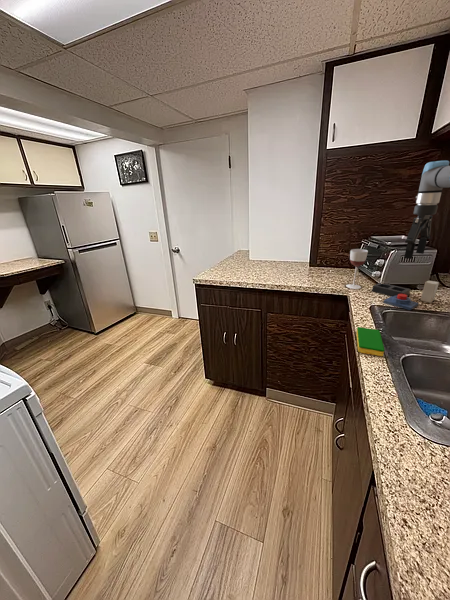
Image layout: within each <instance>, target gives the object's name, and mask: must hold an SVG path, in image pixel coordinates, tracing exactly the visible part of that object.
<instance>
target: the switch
mask: <svg viewBox="0 0 450 600" xmlns="http://www.w3.org/2000/svg"><path fill="white" fill-rule="evenodd" d="M407 297H408V296H407V295H405V294H398V296H397V298H398V299H401V300H406V299H407Z"/></svg>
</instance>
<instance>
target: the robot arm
mask: <svg viewBox="0 0 450 600" xmlns="http://www.w3.org/2000/svg"><path fill="white" fill-rule="evenodd" d="M419 182H420V183H419V187H418V192H417V195H416V196H415V199H416V200H415V204H416V205H415V206H414V209H413V212H412V213H413V215H415V216H417V217H414V218H413V220H412V224H411V226H410V229H409V231H408V234H407V237H406V239H405V240H404V243H405V244H406V248H405V252H404V257H403V259H407V260H408V259H409V260H412V259H413V257H414V252H415V254H422V255H423V254H425V250H426V246H427V243H428V240H430V239H431V230H432V222H433V221H432V220H433V218H434V217H433V216H434V215H436V214H437V211H438V208H439V205H438V204H439V203H440V201H441V196H442V192H443V189H445V188H447V189H449V188H450V161H449V160H436V161H429V162H427V163H426V164H425V165H424V167H423V170H422V173H421V178H420V181H419ZM419 235H420V238H419V239H418V237H419ZM417 239H418V243H416V241H417ZM416 244H417V247H416ZM415 248H416V251H415Z"/></svg>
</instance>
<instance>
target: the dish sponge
mask: <svg viewBox="0 0 450 600" xmlns="http://www.w3.org/2000/svg"><path fill="white" fill-rule="evenodd" d="M356 339H357V340H356V343H357V352H358V353H361V354H367V355H373V356H378V357H384V354H385V347H384V343H383V338H382V335H381V331H380V329H376V328H370V327H369V328H368V327H361V326H357V327H356Z"/></svg>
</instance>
